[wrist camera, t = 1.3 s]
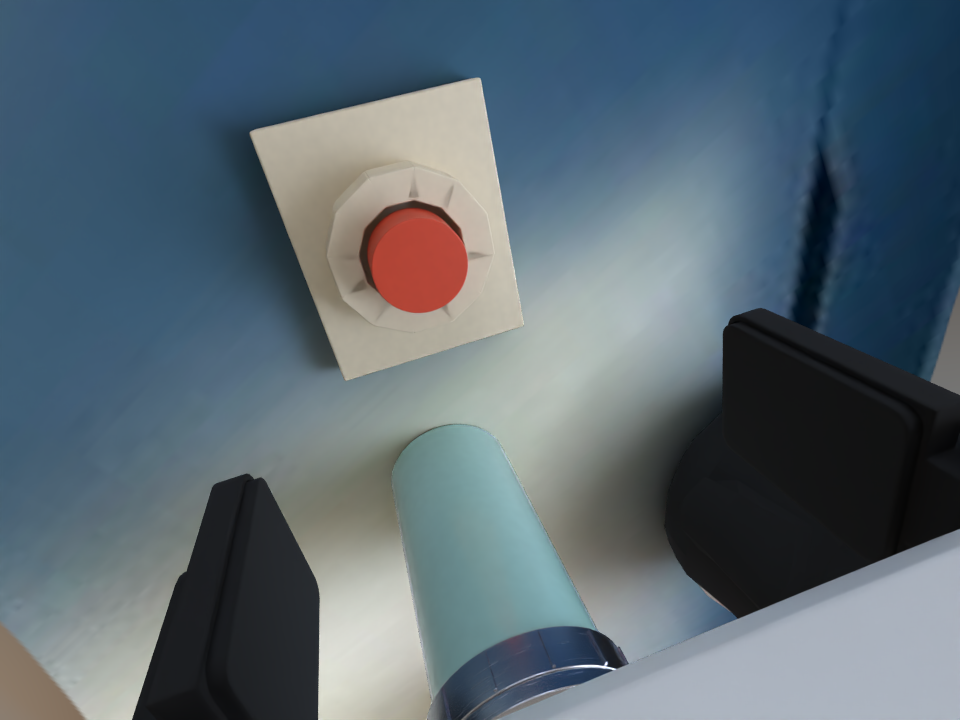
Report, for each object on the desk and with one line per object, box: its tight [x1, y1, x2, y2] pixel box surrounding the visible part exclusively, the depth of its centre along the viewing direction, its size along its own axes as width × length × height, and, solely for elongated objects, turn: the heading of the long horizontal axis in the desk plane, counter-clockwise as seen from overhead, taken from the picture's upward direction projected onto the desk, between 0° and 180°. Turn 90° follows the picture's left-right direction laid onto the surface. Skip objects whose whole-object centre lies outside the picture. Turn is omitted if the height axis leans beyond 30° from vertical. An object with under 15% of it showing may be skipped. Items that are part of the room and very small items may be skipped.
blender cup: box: [391, 424, 599, 702], centre depth 24 cm, size 7×7×15 cm
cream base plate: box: [250, 78, 524, 381], centre depth 22 cm, size 11×9×4 cm
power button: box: [367, 208, 468, 313], centre depth 20 cm, size 4×4×2 cm
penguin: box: [664, 413, 871, 619], centre depth 29 cm, size 18×18×17 cm
